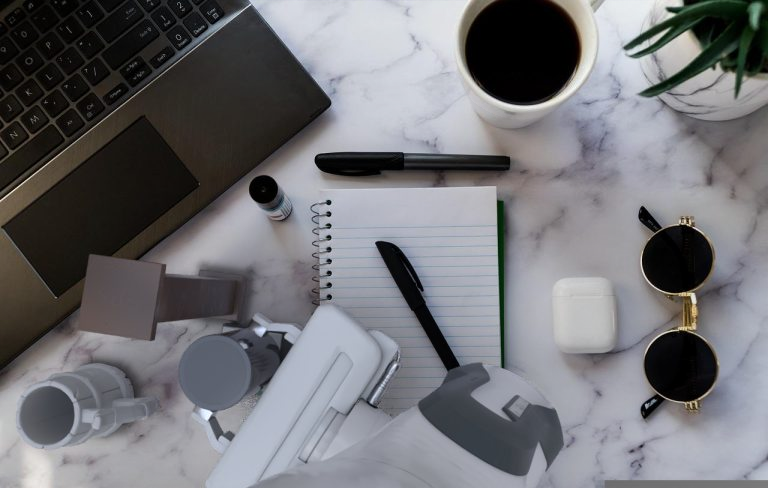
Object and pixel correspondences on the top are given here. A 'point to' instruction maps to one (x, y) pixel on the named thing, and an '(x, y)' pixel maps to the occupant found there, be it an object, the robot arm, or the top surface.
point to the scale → (276, 335)
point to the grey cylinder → (227, 368)
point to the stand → (153, 297)
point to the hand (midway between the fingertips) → (224, 363)
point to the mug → (79, 407)
